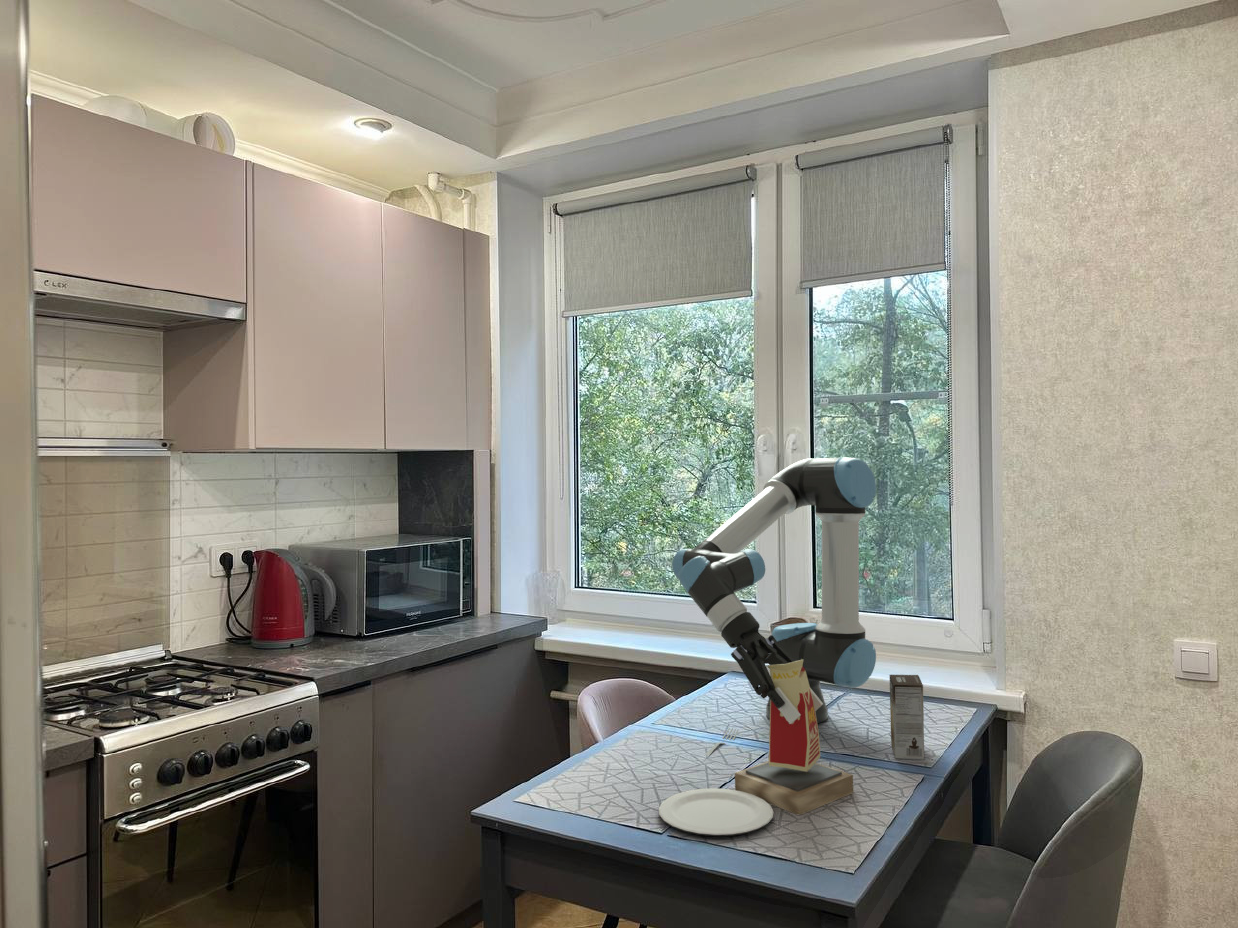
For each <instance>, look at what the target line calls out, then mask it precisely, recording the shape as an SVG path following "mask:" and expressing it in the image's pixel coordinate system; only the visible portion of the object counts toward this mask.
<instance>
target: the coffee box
mask: <svg viewBox="0 0 1238 928" xmlns="http://www.w3.org/2000/svg"><path fill="white" fill-rule="evenodd" d="M889 707H890V710H889V712H890V714H889V715H890V716H889V717H890V741H891V742H890V744H891V748H892V751H893V752H892V753H893V756H894V759H901V760H902V759H904V760H905V759H907V760H925V729H924V726H925V725H924V723H925V722H924V721H925V719H924V716H925V715H924V711H925V710H924V684H923V683H922V680H921V677H920V676H919V675H918V674H889Z"/></svg>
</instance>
